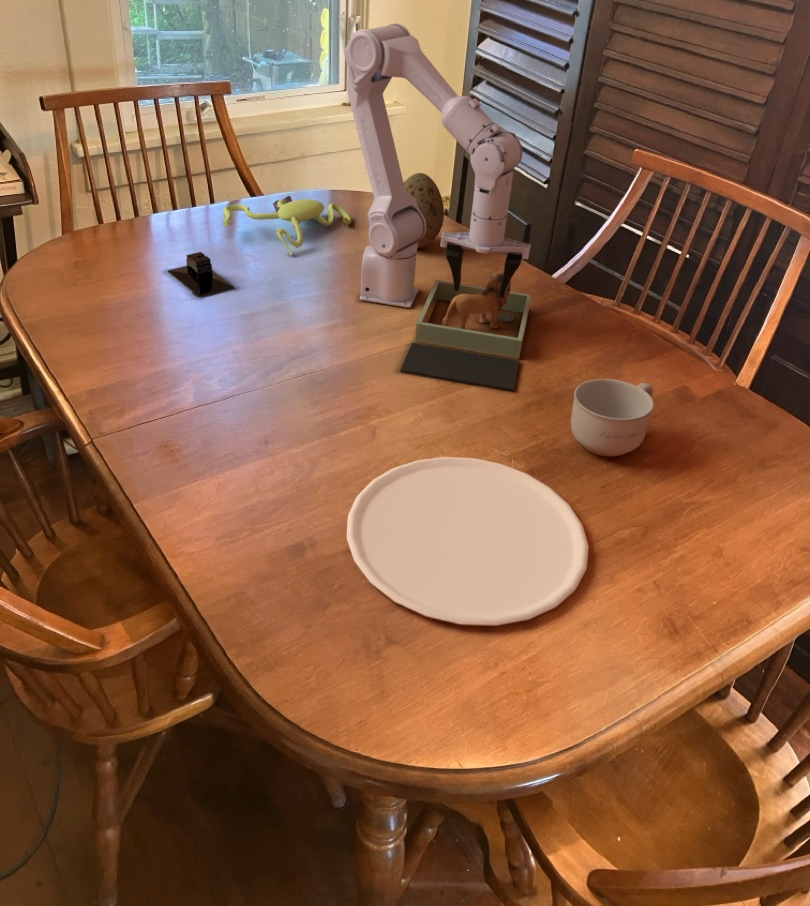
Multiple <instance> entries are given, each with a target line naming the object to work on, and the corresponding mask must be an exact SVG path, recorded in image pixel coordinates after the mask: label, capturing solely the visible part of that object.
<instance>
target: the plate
mask: <svg viewBox="0 0 810 906" xmlns="http://www.w3.org/2000/svg"><path fill="white" fill-rule="evenodd" d="M346 541H347V544H348V547H349V551H350V553H351V556H352V559H353V562H354V564H355V565H356V566H357V568H358V569H359V570H360V571H361V573H362V574H363V576H364V577H365V578H366V579H367V581H368V582H369V584H371V585H372V586H373V587H374V588H376V589H377V590H378V591H379V592H381V593H382V594H383V595H385V596H386V597H387V598H389V600H391V601H392V602H393V603H396V604H398V605H400V606H402V607H404V608H406V609H408V610H411V611H413V612H415V613H417V614H419V615H421V616H423V617H424V618H425V617H426V618H430V619H434V620H437V621H441V622H447V623H450V624H455V625H460V626H483V627H484V626H485V627H498V626H503V625H509V624H514V623H519V622H525V621H529V620H532V619H534V618H536V617H538V616H541V615H543V614H544V613H545V614H546V613H548V612H549V611H552V610H553V609H556V608H557V607H558V606H560V605H561V604H562V603H563V602H564V601H565V600H566V599H567V598H568V597H570V595H572V594H573V593H574V592H575V591H576V590H577V588H578V586H579V584H580V583H581V580H582V579H583V577H584V575H585V573H586V571H587V568H588V559H589V548H590V547H589V546H590V545H589V543H588V539H587V536H586V531H585V528H584V525H583V524H582V522H581V520H580V518H579V517H578V516H577V514H576V512H575V511H574V510H573V508H572V507H571V505H570V504H569V503H568V502H567V501H566V500H565V499H563V498H562V497H561V495H559V494H558V493H557V492H556V491H554V490H553V488H552V487H550V486H548V485H546V484H545V483H543V482H542V481H540V480H538V479H537V478H535V477H533V476H531V475H530V474H528V473H526V472H523V471H521V470H518V469H516V468H514V467H511V466H508V465H505V464H503V463H499V462H494V461H488V460H486V459H485V460H484V459H479V458H474V457H456V456H440V457H433V458H424V459H418V460H415V461H414V460H413V461H411V462H408V463H404V464H401V465H399V466H398V465H397V466H396V467H393V468H390V469H389V470H387V471H386V472H383V473H382V474H381V475H379V476H377V477H375V478H374V479H372V480H371V481H370V482H369V483H368V484H367V485H366V486H365V487H364V488H363V489H362V490H361V492H359V494H357V496H356V497H355V499H354V502H353V504H352V505H351V508H350V510H349V512H348V515H347V525H346Z"/></svg>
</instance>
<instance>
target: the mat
mask: <svg viewBox="0 0 810 906" xmlns="http://www.w3.org/2000/svg"><path fill="white" fill-rule="evenodd" d="M520 361H521V360H519V359H513V358H507V357H501V356H495V355H489V354H483V353H478V352H472V351H466V350H460V349H454V348H448V347H442V346H436V345H430V344H424V343H418V342H412V343H411V345H410V347H409V349H408V351H407V354H406V356H405V358H404V360H403V362H402V365H401V367H400V369H399V370H400V371H399V372H400V373H404V374H408V375H409V374H410V375H415V376H421V377H426V378H433V379H436V380H437V379H438V380H443V381H449V382H455V383H462V384H466V385H472V386H477V387H484V388H490V389H496V390H500V391H501V390H502V391H507V392H512V393H513V392H515V386H516V381H517V377H518V373H519V367H520Z"/></svg>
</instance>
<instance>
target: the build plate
mask: <svg viewBox="0 0 810 906" xmlns="http://www.w3.org/2000/svg"><path fill="white" fill-rule="evenodd" d="M185 261H186V265H184V266H180V267H176V268H171V269H168V270H167V273H168V274H169V275H170V276H172V277H173V278H174V279H176V280H177V281H178V282H179V283H180V284H182V285H183V286H184V287H186V289H188V290H189V291H190V292H191V294H192V295H193V296H195V297H196V298H204V297H208V296H212V295H216V294H220V293H223V292H227V291H230V290H235V286H234V285H232V284H231V283H230V282H229V281H227V280H226V279H225V278H224V277H222V276H220V275H219V274H218V273H217V272H215V271H214V270H213V265H212V262H211V258H210V257H208V256H207V255H205V254H204V253H203V252H202V251H198V252H193V253H190V254H186V259H185Z"/></svg>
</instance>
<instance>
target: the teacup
mask: <svg viewBox="0 0 810 906" xmlns="http://www.w3.org/2000/svg"><path fill="white" fill-rule="evenodd" d="M653 396H654V388H653V386H652V384H650V383H647V382H641V383H639V384H637V385H636V384H633V383H630V382H628V381H624V380H620V379H613V378H593V379H589V380H586V381H583V382H582V383H580V384H578V386H576V388H575V389H574V391H573V403H572V409H571V417H570V430H571V433H572V435H573V437H574V439H575V440H576V441H577V442H578V443H579V444H580V445H581V446H582V447H583V448H584V449H585V450H587V451H589V452H591V453H592V454H594V455H599V456H602V457H618V456H619V457H620V456H622V455H624V454H627V453H630V452H632V451H634V450H636V449H637V448H638V447H639V446H640V445H641V444H642V443H643V441H644V440H645V437H646V434H647V431H648V427H649V424H650V420H651V416H652V412H653V411H654V407H655V402H654V400H653Z"/></svg>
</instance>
